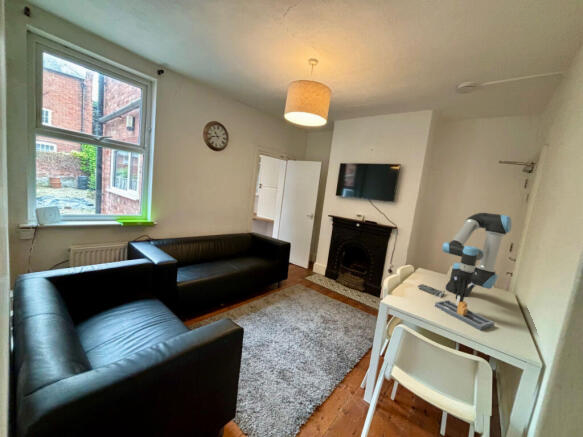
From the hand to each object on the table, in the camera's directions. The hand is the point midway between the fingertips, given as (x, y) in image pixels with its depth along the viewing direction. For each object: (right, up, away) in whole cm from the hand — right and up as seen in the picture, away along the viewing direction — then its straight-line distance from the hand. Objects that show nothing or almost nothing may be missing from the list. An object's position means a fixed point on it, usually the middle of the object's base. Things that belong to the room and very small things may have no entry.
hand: (457, 305), depth 147 cm
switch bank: (-1, -5, -5) cm, 7 cm away
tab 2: (-4, -2, -8) cm, 9 cm away
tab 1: (+1, -2, -2) cm, 3 cm away
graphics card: (0, -1, +29) cm, 29 cm away
